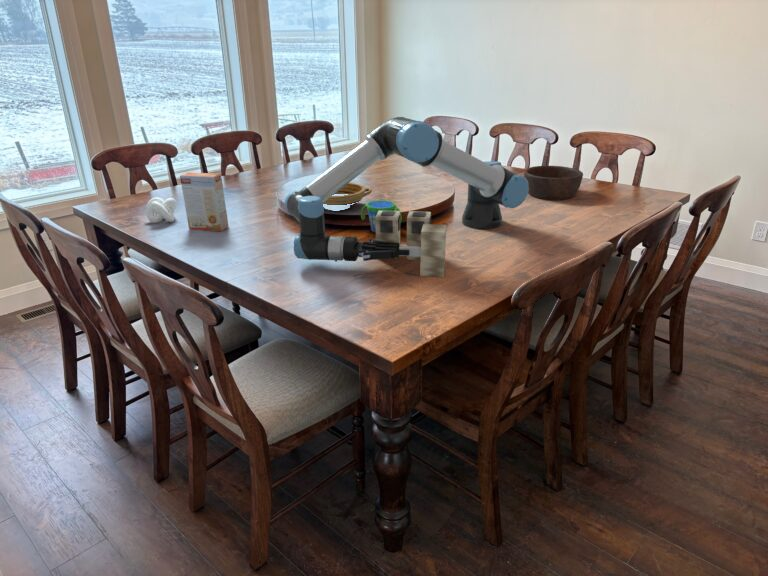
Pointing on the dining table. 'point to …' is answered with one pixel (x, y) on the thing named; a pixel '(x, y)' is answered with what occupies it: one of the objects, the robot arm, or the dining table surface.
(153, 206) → the white knot sculpture
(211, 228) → the cracker box
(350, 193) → the collapsible colander
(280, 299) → the dining table surface
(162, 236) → the dining table surface
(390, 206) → the snack cup
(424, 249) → the plain block
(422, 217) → the marked block 1
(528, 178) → the wooden bowl
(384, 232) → the marked block 2
